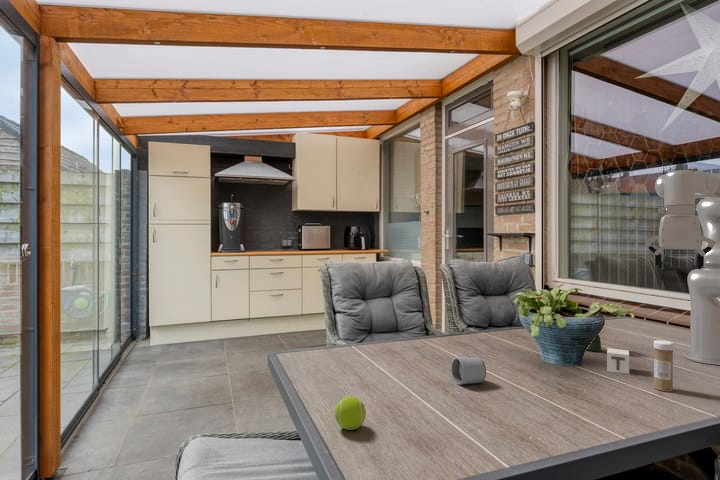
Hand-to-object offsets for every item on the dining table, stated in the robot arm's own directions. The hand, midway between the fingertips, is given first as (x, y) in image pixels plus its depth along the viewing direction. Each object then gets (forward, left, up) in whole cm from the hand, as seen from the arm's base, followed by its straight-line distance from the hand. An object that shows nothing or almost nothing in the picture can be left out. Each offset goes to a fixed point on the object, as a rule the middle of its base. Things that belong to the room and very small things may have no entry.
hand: (678, 268), depth 129 cm
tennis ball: (+104, -5, -34) cm, 109 cm away
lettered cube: (+10, -12, -33) cm, 37 cm away
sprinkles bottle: (+14, +5, -34) cm, 37 cm away
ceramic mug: (+62, -21, -34) cm, 73 cm away
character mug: (-2, -32, -34) cm, 46 cm away
